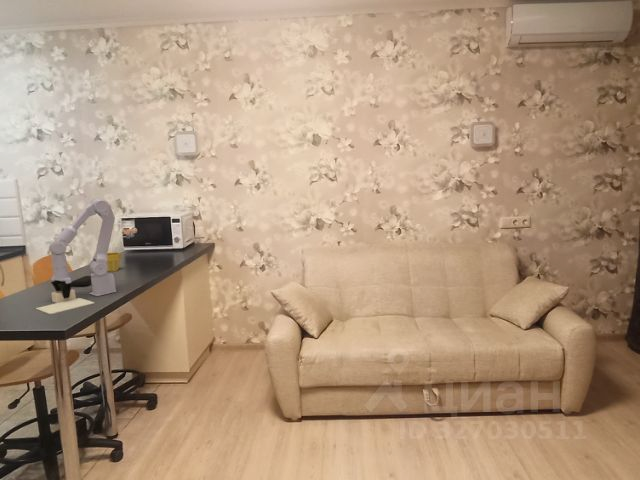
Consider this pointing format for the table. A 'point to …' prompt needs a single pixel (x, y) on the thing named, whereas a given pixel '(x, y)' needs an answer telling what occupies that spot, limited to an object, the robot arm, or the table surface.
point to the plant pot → (113, 261)
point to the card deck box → (58, 296)
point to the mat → (65, 306)
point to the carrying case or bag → (82, 282)
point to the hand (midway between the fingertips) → (63, 297)
